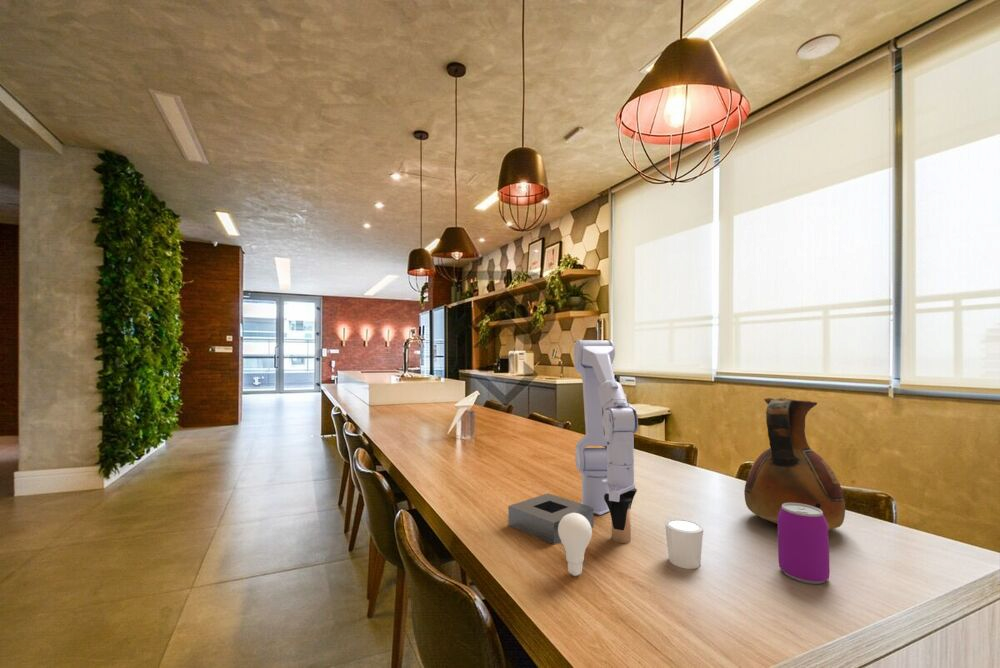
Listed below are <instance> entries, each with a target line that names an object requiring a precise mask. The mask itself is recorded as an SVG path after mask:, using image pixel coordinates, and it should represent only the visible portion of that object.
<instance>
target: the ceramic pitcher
mask: <svg viewBox="0 0 1000 668" xmlns="http://www.w3.org/2000/svg"><path fill="white" fill-rule="evenodd" d="M764 402H765V403H766V404H767V408H766V411H765V414H766V416H765V417H766V418H765V419H766V420H765V421H766V422H765V423H766V428H767V436H768V440H769V448H767V449H765V450H764V451H763V452H761V454H759V456H758V457H757V458H756V459H755V460H754V463H753V464H752V466H751V467H750V469H749V472H748V475H747V478H746V481H745V484H744V493H743V494H744V495H743V496H744V501H745V505H746V507H747V509H748V510H749V511H750V512H751V513H752V514H754V515H756V516H757V517H759V518H761V519H763V520H766V521H769V522H772V523H773V524H777V525H778V521H777V517H778V514H779V512H780V510H781V507H782V504H784V503H801V504H806V505H810V506H814V507H816V508H819V509H820V510H822V512H823V515H824V517H825V519H826V521H827V524H828V531H831V530H834V529H837V528H840V527H841V526H842V525H843V523H844V521H845V517H846V502H845V496H844V493H843V490H842V489H843V488H842V487H841V484H840V482H839V479H838V477H837V476H836V474H835V472H834V471H833V469H832V468H831V467H830V465H829V464H828V463H827V462H826V460H824V459H823V457H822V456H821V455H820V454H818V453H817V452H815V451H814V450H813V449H812V448H811V447H810V446H809V443H808V440H807V438H806V437H807V436H806V432H805V431H806V417H807V414H808V413H809V412H810V410H812V409H813V408H814V407H815V406H817V405H818V402H816V401H811V400H802V399H792V398H786V397H779V398H770V397H769V398H764Z"/></svg>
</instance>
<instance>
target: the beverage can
mask: <svg viewBox="0 0 1000 668" xmlns="http://www.w3.org/2000/svg"><path fill="white" fill-rule="evenodd" d="M777 521H778V524H777V548H778V549H777V550H778V553H777V554H778V555H777V557H778V566H779V568H780V570H781V571H782V572H783V573H784V574H785V575H786V576H787V577H789V578H791V579H793V580H795V581H798V582H801V583H804V584H810V585H819V584H823V583H825V582H826V581H829V579H830V574H831V571H830V568H831V567H830V546H829V545H830V543H829V542H830V540H829V539H830V538H829V530H828V524H827V521H826V519H825V517H824V515H823V512H822V510H820V509H819V508H816V507H814V506H810V505H806V504H801V503H784V504H782V507H781V510H780V512H779V514H778V517H777Z"/></svg>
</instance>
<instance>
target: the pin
mask: <svg viewBox="0 0 1000 668" xmlns="http://www.w3.org/2000/svg"><path fill="white" fill-rule="evenodd" d="M631 519H632V518H631V510H630V504H629V507H628V511H627V516H626V524H625V528H624V530H617V529H614V527H613V523H612V522H611V540H612V541H613V542H616V543H620V544H627V543H631V540H632V532H631V531H632V529H631V527H632V524H631V522H632V521H631Z"/></svg>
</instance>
